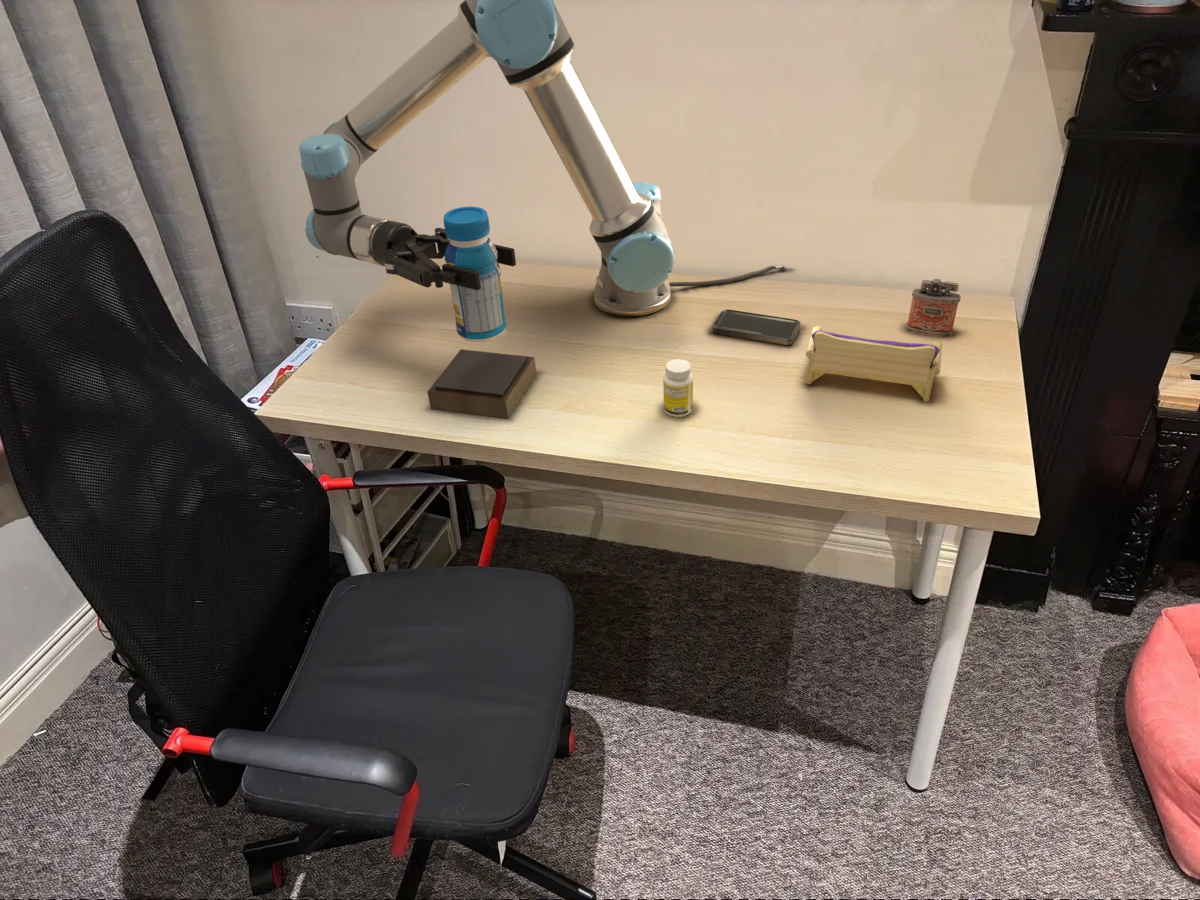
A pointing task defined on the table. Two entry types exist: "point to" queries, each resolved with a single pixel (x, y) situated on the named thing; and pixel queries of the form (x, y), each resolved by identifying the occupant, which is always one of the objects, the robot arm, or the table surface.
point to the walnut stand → (482, 383)
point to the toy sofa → (874, 360)
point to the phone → (756, 327)
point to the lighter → (933, 308)
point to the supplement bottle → (678, 388)
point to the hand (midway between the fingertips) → (496, 269)
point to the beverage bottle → (476, 252)
